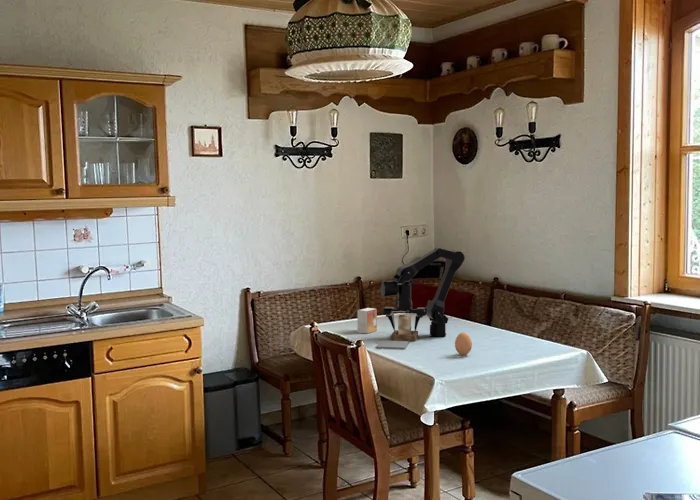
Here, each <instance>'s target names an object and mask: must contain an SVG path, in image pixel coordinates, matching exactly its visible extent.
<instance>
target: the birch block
mask: <svg viewBox="0 0 700 500" xmlns="http://www.w3.org/2000/svg"><path fill="white" fill-rule="evenodd" d="M397 330H398V334H399V335H411V331H412V315H411V314H399V315H398V316H397Z"/></svg>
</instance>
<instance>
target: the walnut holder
mask: <svg viewBox="0 0 700 500" xmlns="http://www.w3.org/2000/svg"><path fill="white" fill-rule="evenodd" d="M418 338H419V331H418V330H416V331H415V330H411V335H399V334H398V329H395V330H393V331H392V333H391V334H390V341H409V342H416V341H417V339H418Z"/></svg>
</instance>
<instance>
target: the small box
mask: <svg viewBox="0 0 700 500" xmlns="http://www.w3.org/2000/svg"><path fill="white" fill-rule="evenodd" d="M356 312H357V333H359V334H370V333H375V332H377V331H378V321H377V320H378V319H377V318H378V316H377V313H378V311H377V308H371V307H366V308H365V307H364V308H362V309H357V311H356Z"/></svg>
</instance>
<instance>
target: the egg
mask: <svg viewBox="0 0 700 500" xmlns="http://www.w3.org/2000/svg"><path fill="white" fill-rule="evenodd" d="M454 347H455V351H456V352H457V353H458V355H460V356H467V355H468V354H469V353H471V351H472V347H473V342H472V338H471V337H470V335H469V334H468V333H467V332H466V331H465V332H464V331H462V332H460V333H458V334H457V336H456V338H455V341H454Z"/></svg>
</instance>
